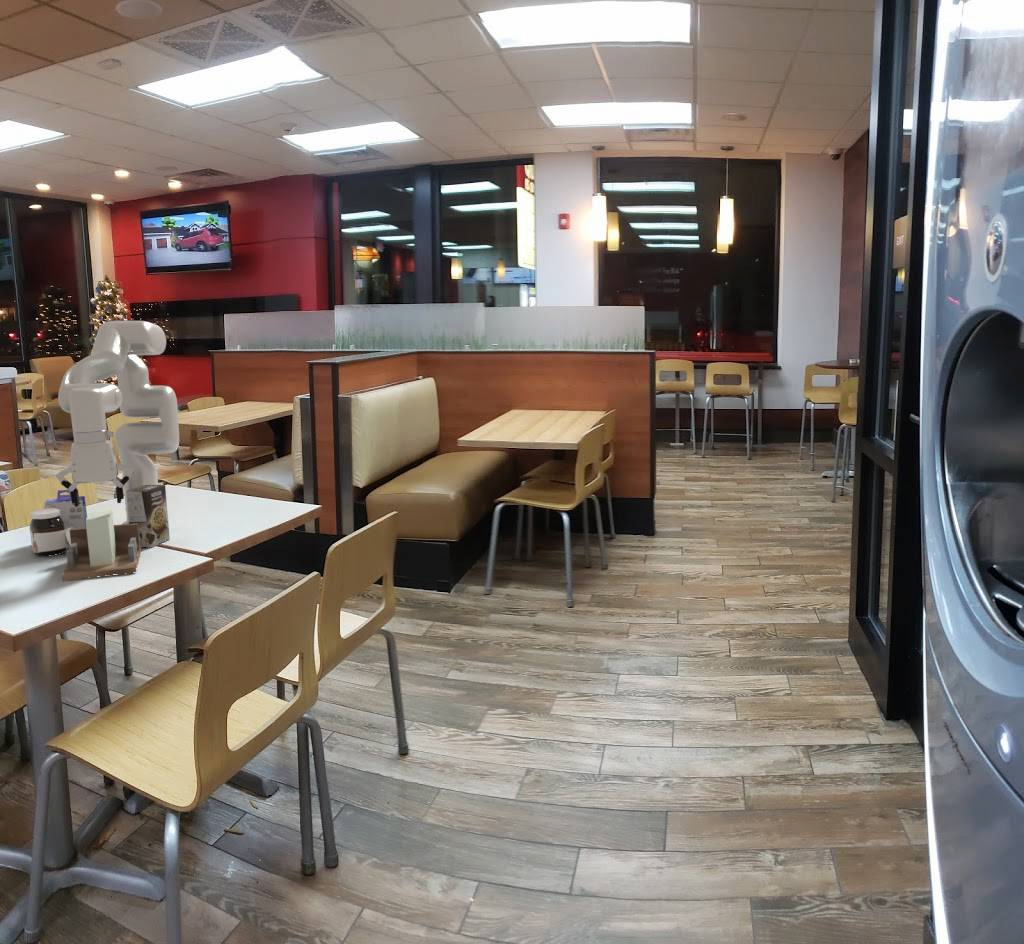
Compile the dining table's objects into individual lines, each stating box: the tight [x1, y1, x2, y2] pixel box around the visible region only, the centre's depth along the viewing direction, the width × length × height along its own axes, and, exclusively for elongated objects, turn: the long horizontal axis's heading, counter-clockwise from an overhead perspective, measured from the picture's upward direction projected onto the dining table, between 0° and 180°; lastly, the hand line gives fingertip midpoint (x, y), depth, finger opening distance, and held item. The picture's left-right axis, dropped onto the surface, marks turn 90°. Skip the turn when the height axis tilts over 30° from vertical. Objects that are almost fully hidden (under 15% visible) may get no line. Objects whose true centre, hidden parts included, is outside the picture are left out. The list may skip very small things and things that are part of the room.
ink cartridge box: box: [44, 489, 88, 543], centre depth 228 cm, size 10×6×14 cm, turn 112°
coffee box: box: [126, 484, 171, 549], centre depth 225 cm, size 9×6×16 cm
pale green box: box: [86, 508, 117, 566], centre depth 205 cm, size 10×5×12 cm, turn 21°
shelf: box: [61, 523, 142, 582], centre depth 204 cm, size 18×16×8 cm
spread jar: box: [29, 508, 74, 557], centre depth 217 cm, size 12×11×12 cm
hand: (98, 503), depth 204 cm, fingers open, 9 cm apart
